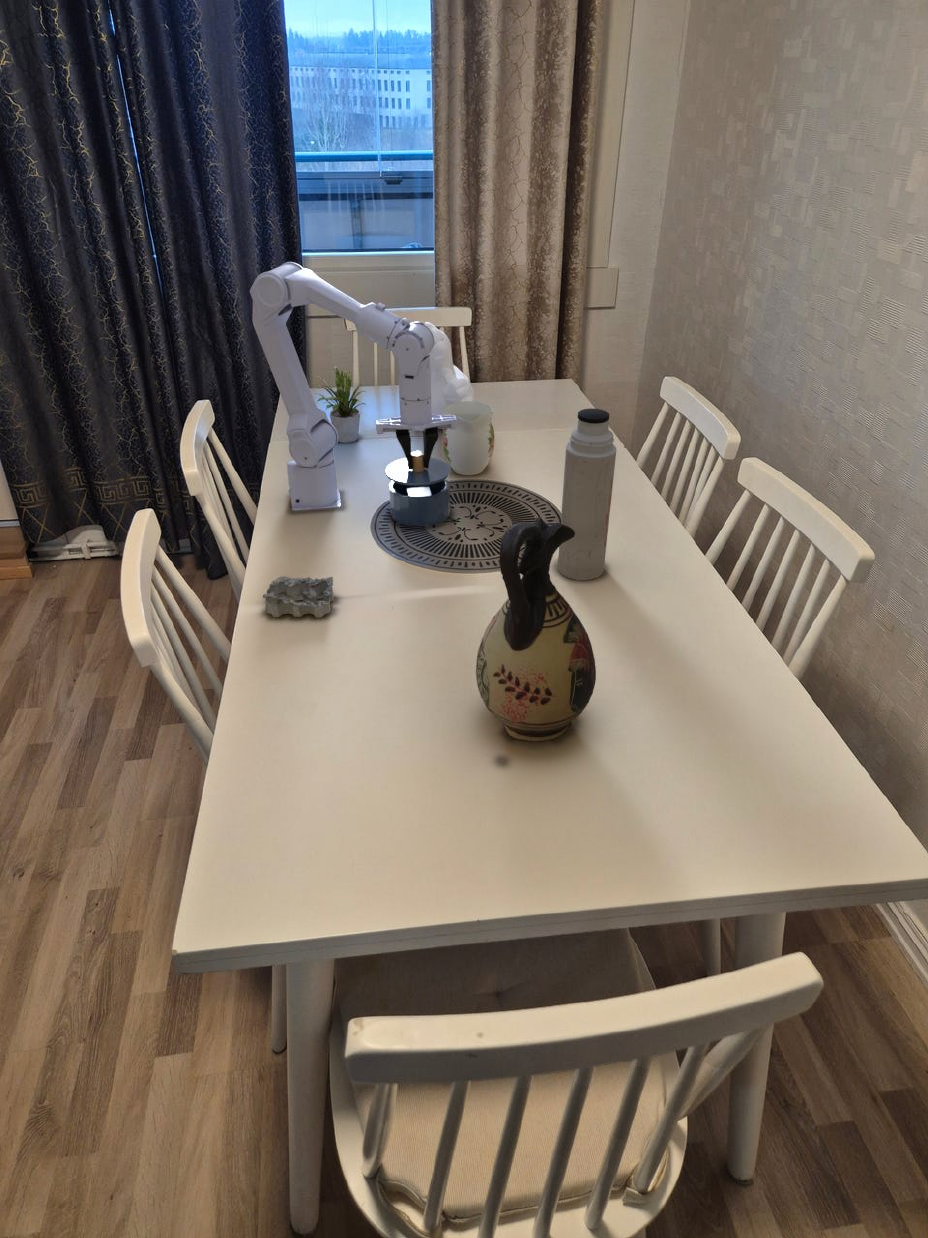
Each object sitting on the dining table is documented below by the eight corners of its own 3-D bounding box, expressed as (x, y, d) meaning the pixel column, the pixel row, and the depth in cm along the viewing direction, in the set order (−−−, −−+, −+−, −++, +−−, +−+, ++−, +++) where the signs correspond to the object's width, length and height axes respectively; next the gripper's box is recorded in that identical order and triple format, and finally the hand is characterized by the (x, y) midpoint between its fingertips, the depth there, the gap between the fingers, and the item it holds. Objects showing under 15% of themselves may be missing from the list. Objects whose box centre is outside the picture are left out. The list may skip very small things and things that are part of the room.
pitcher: (490, 450, 190) (491, 390, 182) (496, 484, 175) (497, 420, 167) (442, 451, 190) (441, 391, 182) (443, 484, 175) (442, 421, 167)
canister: (393, 530, 158) (392, 500, 154) (388, 504, 167) (386, 474, 164) (453, 526, 159) (453, 495, 156) (445, 500, 169) (444, 470, 165)
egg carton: (262, 618, 134) (258, 596, 131) (274, 592, 140) (270, 571, 138) (329, 619, 133) (326, 598, 131) (337, 594, 139) (335, 573, 137)
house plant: (305, 431, 200) (297, 362, 191) (360, 422, 205) (355, 354, 196) (323, 452, 189) (315, 380, 180) (381, 442, 194) (377, 372, 185)
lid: (388, 490, 153) (387, 468, 150) (383, 464, 163) (382, 443, 160) (455, 486, 154) (455, 464, 152) (445, 460, 164) (445, 439, 162)
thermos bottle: (605, 559, 149) (621, 405, 133) (602, 582, 142) (618, 423, 127) (560, 555, 150) (571, 402, 134) (555, 577, 144) (565, 419, 128)
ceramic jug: (519, 669, 122) (528, 478, 105) (612, 713, 114) (637, 514, 97) (443, 730, 111) (440, 527, 95) (539, 783, 103) (554, 572, 86)
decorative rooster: (397, 381, 209) (389, 317, 185) (457, 365, 211) (457, 299, 187) (426, 468, 202) (422, 413, 178) (489, 450, 204) (493, 393, 180)
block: (409, 518, 161) (408, 497, 158) (407, 508, 165) (406, 487, 162) (432, 516, 162) (432, 495, 159) (429, 506, 165) (429, 486, 163)
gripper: (376, 405, 146) (380, 478, 153) (459, 400, 148) (459, 472, 155) (373, 392, 152) (377, 462, 159) (453, 387, 154) (453, 457, 161)
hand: (417, 466), depth 158 cm, fingers closed on lid, 2 cm apart
